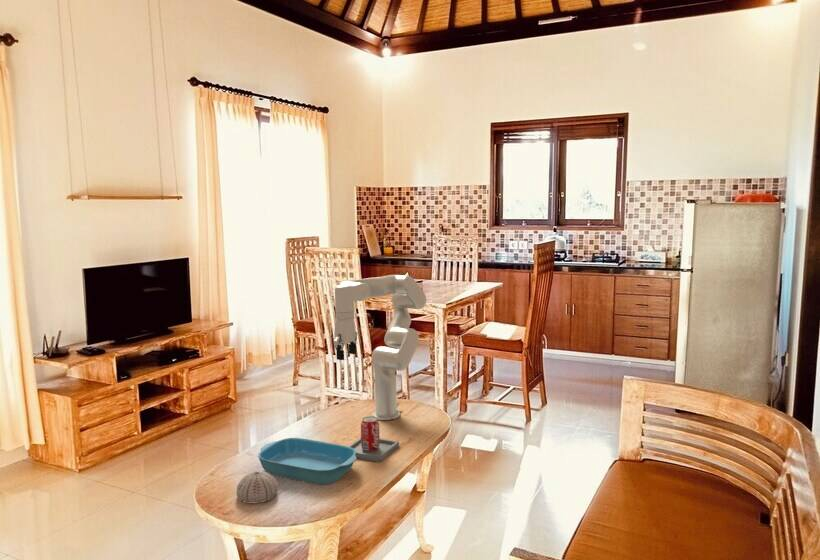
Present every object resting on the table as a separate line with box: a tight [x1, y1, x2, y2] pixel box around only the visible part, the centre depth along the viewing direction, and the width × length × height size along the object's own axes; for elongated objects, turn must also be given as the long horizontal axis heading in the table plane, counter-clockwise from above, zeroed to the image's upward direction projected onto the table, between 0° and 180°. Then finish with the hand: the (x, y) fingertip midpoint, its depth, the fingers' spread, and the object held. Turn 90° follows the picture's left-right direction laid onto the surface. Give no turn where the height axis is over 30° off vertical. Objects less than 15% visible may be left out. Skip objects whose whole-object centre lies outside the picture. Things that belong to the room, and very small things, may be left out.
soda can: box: [360, 415, 381, 452], centre depth 228 cm, size 7×7×12 cm
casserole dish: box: [257, 437, 358, 486], centre depth 212 cm, size 37×22×7 cm, turn 67°
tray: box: [347, 436, 400, 463], centre depth 229 cm, size 16×16×2 cm
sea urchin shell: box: [235, 470, 279, 503], centre depth 193 cm, size 13×14×8 cm
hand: (346, 356), depth 243 cm, fingers open, 9 cm apart
